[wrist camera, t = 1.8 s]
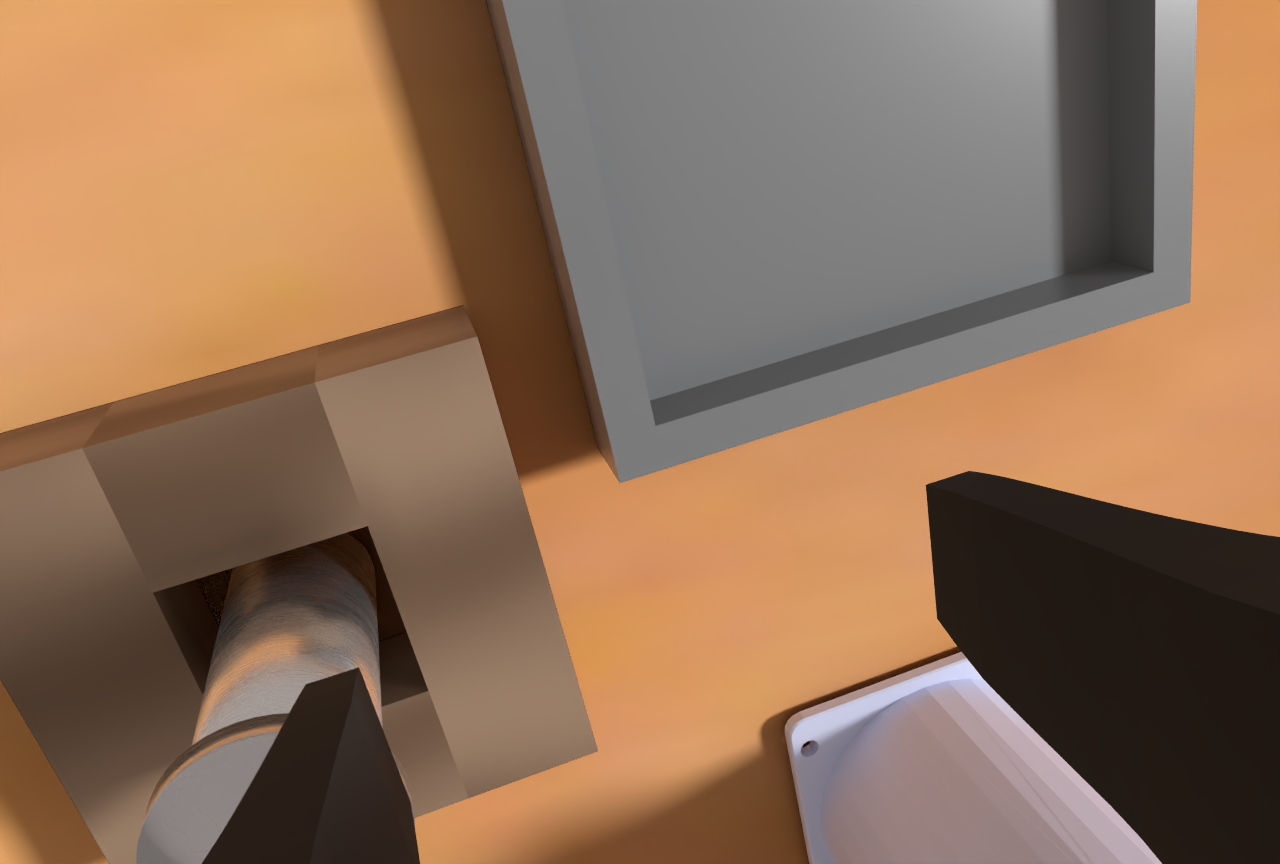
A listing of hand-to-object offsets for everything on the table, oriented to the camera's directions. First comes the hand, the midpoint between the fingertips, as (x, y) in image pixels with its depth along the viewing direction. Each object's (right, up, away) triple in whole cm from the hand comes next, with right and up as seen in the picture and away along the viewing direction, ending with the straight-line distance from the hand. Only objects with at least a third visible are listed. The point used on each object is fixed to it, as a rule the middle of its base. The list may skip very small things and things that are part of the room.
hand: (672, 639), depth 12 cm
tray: (+4, +11, +8) cm, 14 cm away
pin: (-8, -1, +10) cm, 12 cm away
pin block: (-8, -1, +10) cm, 12 cm away
